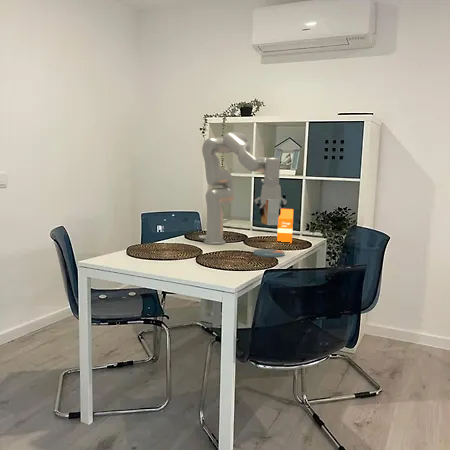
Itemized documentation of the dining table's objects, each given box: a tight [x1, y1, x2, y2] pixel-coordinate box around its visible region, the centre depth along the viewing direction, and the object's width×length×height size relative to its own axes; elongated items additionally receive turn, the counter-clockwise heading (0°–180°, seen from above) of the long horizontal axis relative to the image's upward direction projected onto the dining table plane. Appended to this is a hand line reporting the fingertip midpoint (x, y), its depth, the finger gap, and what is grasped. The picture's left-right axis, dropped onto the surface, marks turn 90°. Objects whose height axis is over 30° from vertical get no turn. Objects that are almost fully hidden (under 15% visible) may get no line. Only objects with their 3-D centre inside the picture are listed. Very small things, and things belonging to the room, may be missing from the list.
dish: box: [252, 248, 285, 258], centre depth 245 cm, size 16×16×1 cm
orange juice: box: [276, 208, 294, 244], centre depth 284 cm, size 8×9×20 cm
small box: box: [260, 199, 279, 226], centre depth 242 cm, size 8×6×13 cm
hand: (270, 216), depth 243 cm, fingers closed on small box, 8 cm apart
